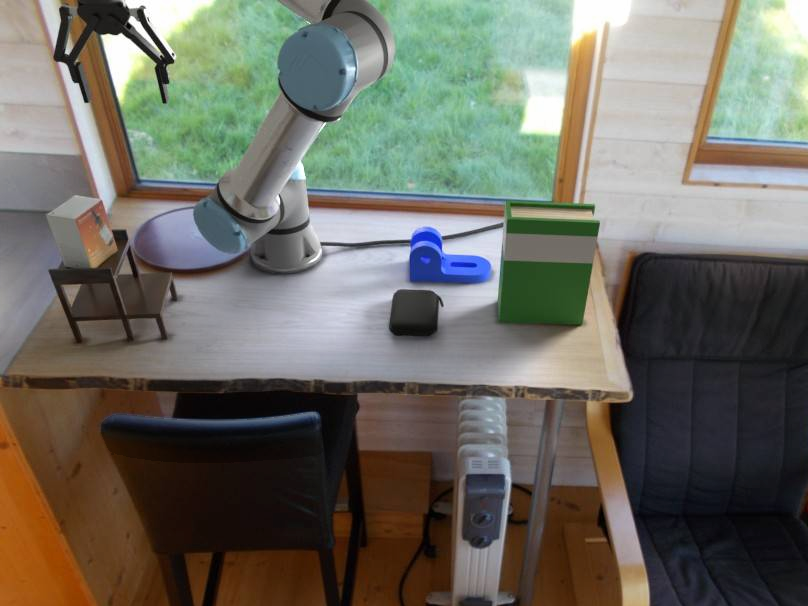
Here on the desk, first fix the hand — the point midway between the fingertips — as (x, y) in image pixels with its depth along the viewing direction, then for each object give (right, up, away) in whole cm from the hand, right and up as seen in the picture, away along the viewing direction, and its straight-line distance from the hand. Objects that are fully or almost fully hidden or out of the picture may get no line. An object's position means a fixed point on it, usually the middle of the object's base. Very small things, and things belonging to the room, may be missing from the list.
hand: (127, 100), depth 139 cm
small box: (-5, -31, -4) cm, 31 cm away
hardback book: (+78, -39, +18) cm, 89 cm away
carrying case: (+53, -40, +13) cm, 68 cm away
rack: (-3, -41, +6) cm, 41 cm away
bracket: (+59, -28, +28) cm, 71 cm away
